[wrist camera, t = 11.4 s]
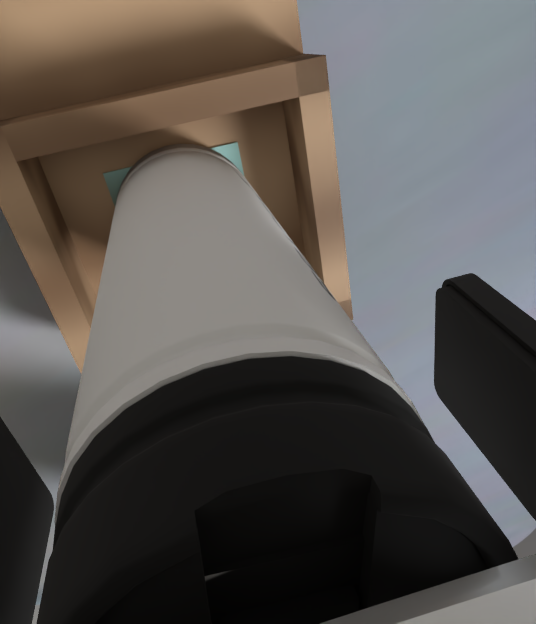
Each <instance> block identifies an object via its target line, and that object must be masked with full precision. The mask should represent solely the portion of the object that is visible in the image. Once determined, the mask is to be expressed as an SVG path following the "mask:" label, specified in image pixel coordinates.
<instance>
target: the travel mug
mask: <svg viewBox="0 0 536 624" xmlns="http://www.w3.org/2000/svg"><path fill="white" fill-rule="evenodd" d="M515 560H518V557H517V555H516V553H515V551H514V550H513V548H512V546H511V544H510V542H509V540H508V539H507V537H506V536H505V535H504V533H503V532H502V531H501V529H500V528H499V526H498V525H497V524H496V522H495V521H494V520H493V518H492V517H491V516H490V514H489V513H488V511H487V510H486V509H485V507H484V506H483V505H482V503H481V502H480V500H479V499H478V498H477V496H476V495H475V494H474V492H473V491H472V490H471V488H470V487H469V485H468V484H467V483H466V481H465V480H464V479H463V477H462V476H461V474H460V473H459V472H458V470H457V469H456V468H455V466H454V465H453V463H452V462H451V461H450V459H449V458H448V457H447V455H446V454H445V453H444V452H443V451H442V450H441V449H440V448H439V447H438V446H437V445H436V444H435V442H434V441H433V439H432V437H431V435H430V433H429V431H428V429H427V428H426V426H425V425H424V423H423V421H422V419H421V418H420V416H419V414H418V412H417V410H416V408H415V406H414V405H413V403H412V401H411V400H410V399H409V397H408V396H407V395H406V393H405V392H404V391H403V389H402V388H401V387H400V386H399V385H398V384H397V383H396V382H395V381H394V379H393V377H392V375H391V374H390V372H389V370H388V369H387V368H386V366H385V365H384V364H383V362H382V361H381V360H380V358H379V357H378V356H377V354H376V353H375V352H374V350H373V349H372V348H371V346H370V345H369V343H368V342H367V341H366V339H365V338H364V337H363V335H362V334H361V333H360V331H359V330H358V329H357V327H356V326H355V325H354V323H353V322H352V321H351V319H350V318H349V317H348V315H347V314H346V313H345V311H344V310H343V309H342V307H341V306H340V304H339V303H338V302H337V300H336V299H335V298H334V296H333V295H332V294H331V292H330V291H329V290H328V288H327V287H326V286H325V284H324V283H323V282H322V280H321V279H320V278H319V276H318V275H317V274H316V272H315V271H314V269H313V268H312V267H311V265H310V264H309V263H308V261H307V260H306V259H305V257H304V256H303V255H302V253H301V252H300V251H299V249H298V248H297V247H296V245H295V244H294V243H293V241H292V240H291V239H290V237H289V236H288V235H287V233H286V232H285V230H284V229H283V228H282V226H281V225H280V224H279V222H278V221H277V220H276V218H275V217H274V216H273V214H272V213H271V212H270V210H269V209H268V208H267V206H266V205H265V204H264V202H263V201H262V200H261V198H260V197H259V195H258V194H257V193H256V191H255V190H254V189H253V187H252V186H251V185H250V183H249V182H248V181H247V180H246V178H245V177H244V175H243V174H242V173H241V171H240V170H239V169H238V168H237V167H236V166H235V165H234V164H233V163H232V162H231V161H230V160H229V159H227V158H226V157H225V156H223V155H222V154H221V153H218V152H216V151H214V150H212V149H210V148H208V147H204V146H199V145H195V144H174V145H168V146H164V147H161V148H159V149H156V150H154V151H151V152H150V153H148V154H147V155H145V156H144V157H142V158H141V159H139V160H138V161H137V162H136V163H135V164H134V165H133V167H132V168H131V169H130V170H129V171H128V173H127V175H126V176H125V178H124V179H123V181H122V184H121V186H120V189H119V192H118V195H117V200H116V205H115V210H114V215H113V220H112V225H111V230H110V235H109V240H108V245H107V250H106V255H105V260H104V265H103V270H102V275H101V280H100V285H99V290H98V295H97V299H96V304H95V309H94V314H93V319H92V324H91V329H90V334H89V339H88V344H87V349H86V354H85V359H84V364H83V369H82V374H81V379H80V384H79V389H78V394H77V399H76V404H75V409H74V414H73V419H72V424H71V429H70V434H69V439H68V443H67V448H66V456H65V465H64V469H63V471H62V474H61V478H60V483H59V488H58V494H57V503H56V513H55V534H54V544H53V552H52V554H51V556H50V559H49V562H48V567H47V572H46V577H45V582H44V588H43V593H42V598H41V603H40V609H39V614H38V619H37V624H320V623H323V622H326V621H329V620H332V619H335V618H339V617H342V616H345V615H348V614H351V613H354V612H357V611H360V610H363V609H366V608H369V607H372V606H375V605H378V604H381V603H384V602H388V601H391V600H394V599H397V598H400V597H403V596H406V595H409V594H412V593H416V592H419V591H422V590H425V589H428V588H431V587H434V586H437V585H440V584H443V583H447V582H450V581H453V580H456V579H459V578H462V577H465V576H468V575H471V574H475V573H478V572H481V571H484V570H487V569H490V568H493V567H496V566H499V565H502V564H506V563H509V562H512V561H515Z"/></svg>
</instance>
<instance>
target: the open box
mask: <svg viewBox="0 0 536 624" xmlns="http://www.w3.org/2000/svg"><path fill="white" fill-rule="evenodd" d="M174 144H195V145H199V146H204V147H208V148H210V149H212V150H214V151H216V152H218V153H221V154H222V155H223V156H225V157H226V158H227V159H229V160H230V161H231V162H232V163H233V164H234V165H235V166H236V167H237V168H238V169H239V170H240V171H241V173H242V174H243V175H244V177H245V178H246V180H247V181H248V182H249V183H250V185H251V186H252V187H253V189H254V190H255V191H256V193H257V194H258V195H259V197H260V198H261V200H262V201H263V202H264V204H265V205H266V206H267V208H268V209H269V210H270V212H271V213H272V214H273V216H274V217H275V218H276V220H277V221H278V222H279V224H280V225H281V226H282V228H283V229H284V230H285V232H286V233H287V235H288V236H289V237H290V239H291V240H292V241H293V243H294V244H295V245H296V247H297V248H298V249H299V251H300V252H301V253H302V255H303V256H304V257H305V259H306V260H307V261H308V263H309V264H310V265H311V267H312V268H313V269H314V271H315V272H316V274H317V275H318V276H319V278H320V279H321V280H322V282H323V283H324V284H325V286H326V287H327V288H328V290H329V291H330V292H331V294H332V295H333V296H334V298H335V299H336V300H337V302H338V303H339V304H340V306H341V307H342V309H343V310H344V311H345V313H346V314H347V315H348V317H349V318H350V319H351V320H353V314H352V304H351V294H350V285H349V275H348V265H347V256H346V246H345V237H344V227H343V217H342V208H341V198H340V188H339V179H338V169H337V159H336V150H335V140H334V130H333V121H332V111H331V102H330V92H329V82H328V73H327V63H326V55H314V54H303V48H302V40H301V32H300V24H299V16H298V8H297V0H0V207H1V209H2V212H3V214H4V216H5V218H6V220H7V222H8V224H9V226H10V228H11V230H12V232H13V234H14V236H15V238H16V240H17V242H18V245H19V247H20V249H21V251H22V253H23V255H24V257H25V259H26V261H27V263H28V265H29V267H30V269H31V271H32V273H33V275H34V278H35V280H36V282H37V284H38V286H39V288H40V290H41V292H42V294H43V296H44V298H45V300H46V302H47V304H48V306H49V308H50V310H51V313H52V315H53V317H54V319H55V321H56V323H57V325H58V327H59V329H60V331H61V333H62V335H63V337H64V339H65V341H66V343H67V346H68V348H69V350H70V352H71V354H72V356H73V358H74V360H75V362H76V364H77V366H78V368H79V370H80V372H81V374H82V369H83V364H84V359H85V354H86V349H87V344H88V339H89V334H90V329H91V324H92V319H93V314H94V309H95V304H96V299H97V295H98V290H99V285H100V280H101V275H102V270H103V265H104V260H105V255H106V250H107V245H108V240H109V235H110V230H111V225H112V220H113V215H114V210H115V205H116V200H117V195H118V192H119V189H120V186H121V184H122V181H123V179H124V178H125V176H126V175H127V173H128V171H129V170H130V169H131V168H132V167H133V165H134V164H135V163H136V162H137V161H138V160H139V159H141V158H142V157H144V156H145V155H147V154H148V153H150V152H151V151H154V150H156V149H159V148H161V147H164V146H168V145H174Z"/></svg>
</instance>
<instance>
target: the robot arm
mask: <svg viewBox="0 0 536 624" xmlns="http://www.w3.org/2000/svg"><path fill="white" fill-rule="evenodd" d="M434 385H435V389H436V392H437V394H438V396H439V398H440V399H441V401H442V402H443V403H444V404H445V406H446V407H447V408H448V410H449V411H450V412H451V413H452V415H453V416H454V417H455V419H456V420H457V421H458V422H459V424H460V425H461V426H462V427H463V429H464V430H465V431H466V433H467V434H468V435H469V436H470V438H471V439H472V440H473V442H474V443H475V444H476V445H477V447H478V448H479V449H480V450H481V452H482V453H483V454H484V456H485V457H486V458H487V459H488V461H489V462H490V463H491V465H492V466H493V467H494V468H495V470H496V471H497V472H498V474H499V475H500V476H501V477H502V479H503V480H504V481H505V482H506V484H507V485H508V486H509V488H510V489H511V490H512V491H513V493H514V494H515V495H516V497H517V498H518V499H519V500H520V502H521V503H522V504H523V505H524V507H525V508H526V509H527V511H528V512H529V513H530V514H531V516H532V517H533V518H534V519H535V520H536V321H535V320H534V319H533V318H532V317H530V316H529V315H528V314H526V313H525V312H524V311H522V310H521V309H520V308H518V307H517V306H516V305H514V304H513V303H512V302H511V301H509V300H508V299H507V298H505V297H504V296H503V295H501V294H500V293H499V292H497V291H496V290H495V289H493V288H492V287H491V286H490V285H488V284H487V283H486V282H484V281H483V280H482V279H480V278H479V277H478V276H476V275H475V274H473V273H469V274H465V275H462V276H458V277H454V278H450V279H447V280H445V281H444V282H443V284H442V288H439V289H438V290H437V292H436V309H435V361H434ZM53 511H54V503H53V498H52V495H51V493H50V491H49V490H48V488H47V487H46V485H45V484H44V482H43V481H42V479H41V478H40V476H39V475H38V473H37V472H36V470H35V469H34V467H33V466H32V464H31V463H30V461H29V460H28V458H27V457H26V455H25V453H24V452H23V450H22V449H21V447H20V446H19V444H18V443H17V441H16V440H15V438H14V437H13V435H12V434H11V432H10V431H9V429H8V428H7V426H6V425H5V423H4V422H3V420H2V419H1V417H0V624H32V619H33V614H34V609H35V604H36V599H37V594H38V589H39V583H40V578H41V573H42V568H43V563H44V558H45V553H46V547H47V542H48V537H49V532H50V527H51V522H52V517H53ZM320 624H536V554H535V555H531V556H528V557H525V558H521V559H518V560H515V561H512V562H509V563H506V564H502V565H499V566H496V567H493V568H490V569H487V570H484V571H481V572H478V573H475V574H471V575H468V576H465V577H462V578H459V579H456V580H453V581H450V582H447V583H443V584H440V585H437V586H434V587H431V588H428V589H425V590H422V591H419V592H416V593H412V594H409V595H406V596H403V597H400V598H397V599H394V600H391V601H388V602H384V603H381V604H378V605H375V606H372V607H369V608H366V609H363V610H360V611H357V612H354V613H351V614H348V615H345V616H342V617H339V618H335V619H332V620H329V621H326V622H323V623H320Z"/></svg>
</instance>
